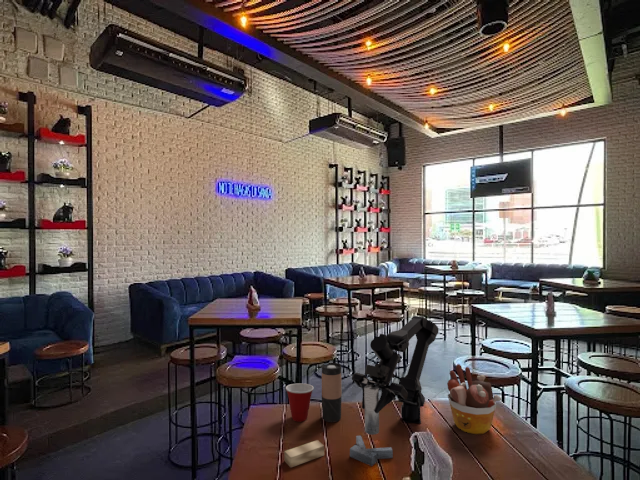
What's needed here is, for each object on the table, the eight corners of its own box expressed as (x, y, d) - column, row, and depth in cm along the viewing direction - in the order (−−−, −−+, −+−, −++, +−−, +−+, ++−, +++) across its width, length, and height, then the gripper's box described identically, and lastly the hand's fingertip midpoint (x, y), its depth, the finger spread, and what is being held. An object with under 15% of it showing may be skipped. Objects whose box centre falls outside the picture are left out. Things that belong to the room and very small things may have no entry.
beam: (317, 449, 121) (317, 440, 121) (324, 455, 118) (324, 445, 118) (284, 461, 115) (284, 451, 115) (290, 467, 111) (290, 457, 111)
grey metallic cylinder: (377, 426, 123) (376, 384, 123) (380, 434, 119) (380, 390, 119) (363, 427, 123) (362, 385, 123) (366, 435, 118) (366, 391, 118)
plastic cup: (317, 413, 146) (317, 383, 146) (308, 426, 136) (307, 393, 136) (292, 409, 150) (292, 379, 150) (281, 422, 140) (280, 390, 140)
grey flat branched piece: (358, 441, 125) (358, 434, 125) (394, 456, 117) (394, 448, 117) (342, 453, 119) (342, 445, 119) (379, 469, 110) (379, 461, 110)
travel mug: (340, 423, 138) (339, 369, 138) (319, 421, 140) (319, 368, 140) (342, 414, 146) (342, 363, 146) (323, 412, 147) (323, 361, 147)
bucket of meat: (509, 439, 127) (508, 380, 127) (463, 442, 125) (462, 382, 125) (478, 412, 147) (477, 362, 147) (437, 415, 145) (437, 363, 145)
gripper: (354, 349, 130) (335, 391, 121) (402, 360, 118) (385, 407, 109) (367, 365, 136) (349, 406, 127) (414, 377, 124) (398, 423, 115)
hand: (369, 410), depth 120 cm, fingers closed on grey metallic cylinder, 5 cm apart
